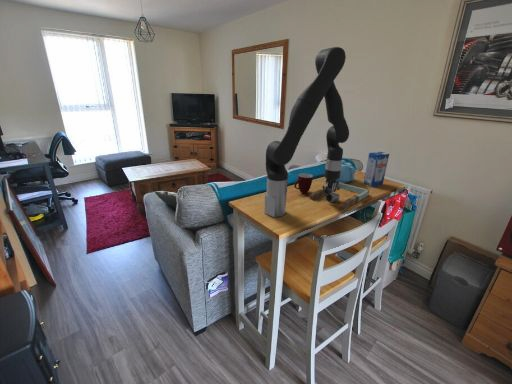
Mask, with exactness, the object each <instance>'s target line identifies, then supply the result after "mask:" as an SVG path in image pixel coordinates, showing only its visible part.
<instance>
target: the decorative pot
mask: <svg viewBox="0 0 512 384" xmlns="http://www.w3.org/2000/svg"><path fill="white" fill-rule="evenodd" d="M355 173H356V168H355V167H354V166H353V165H352V163H351V162H346V160H343V159H342V166H341V173H340V178H339V179H337V181H338V182H340V183H344V184H347V183H349V182H351V181H354V180H355Z"/></svg>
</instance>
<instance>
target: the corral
mask: <svg viewBox="0 0 512 384" xmlns="http://www.w3.org/2000/svg"><path fill="white" fill-rule="evenodd" d="M337 188H338V189H342V190H346V191H349V192H353V193H356V194H358V195H357V196H358V200H357V202H361V201H362V200H364V199H366V197H368V196H369V194H370V190H369V189H366V188H363V187H359V186H354V185H350V184H347V183H340V182H339V184H338V186H337Z"/></svg>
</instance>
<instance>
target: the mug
mask: <svg viewBox="0 0 512 384" xmlns="http://www.w3.org/2000/svg"><path fill="white" fill-rule="evenodd" d="M312 183H313V175H312V174H310V173H299V174H298V176H297V180H296V181H295V182H294V185H293V186H294V188H295V189H296V190H299V192H300V193H301V194H308V193H309V191H310V189H311V186H312ZM297 185H298V187H297Z"/></svg>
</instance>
